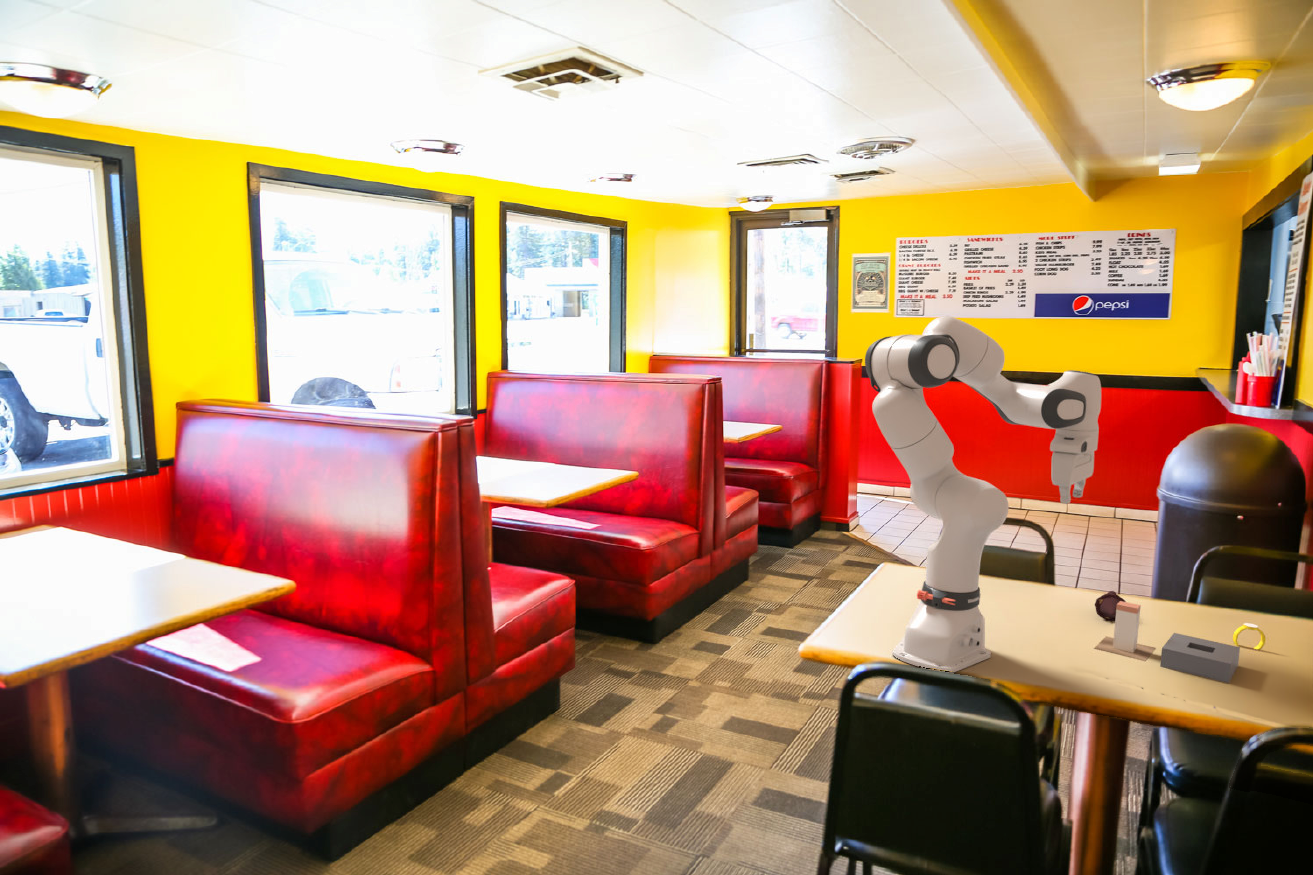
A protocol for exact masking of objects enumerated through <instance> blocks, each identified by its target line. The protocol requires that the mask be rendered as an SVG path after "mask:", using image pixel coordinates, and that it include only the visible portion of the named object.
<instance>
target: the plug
mask: <svg viewBox="0 0 1313 875" xmlns="http://www.w3.org/2000/svg"><path fill="white" fill-rule="evenodd" d="M1140 615H1141V604H1138V603H1132V602H1127V601H1126V602H1123V601H1120V602H1119V603H1118V604H1117V607H1116V619H1115V622H1114V631H1113V638H1114V641H1113V648H1115V649H1119V650H1123V651H1128V652H1132V653H1133V652H1134V651H1135V650H1136V648H1137V644H1138V637H1139V636H1138V635H1139V626H1140V625H1139V624H1140V617H1141V616H1140Z"/></svg>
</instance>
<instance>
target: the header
mask: <svg viewBox="0 0 1313 875" xmlns="http://www.w3.org/2000/svg"><path fill="white" fill-rule="evenodd" d="M1240 650H1241V646H1236V645H1231V644H1227V643H1223V642H1218V641H1214V640H1208V639H1204V638H1200V637H1194V636H1190V635H1187V634H1186V635H1185V634H1183V633H1182V634H1181V633H1177V632H1173V633H1172V634H1171V636H1170V637H1169V639H1167V641H1166V642H1165V644H1164V645H1163V646H1162V648H1161V654H1160V656H1161V657H1160V668H1165V669H1169V670H1173V671H1177V672H1181V673H1184V674H1189V675H1193V676H1198V677H1202V678H1206V679H1209V680H1214V681H1217V682H1221V683H1226V684H1229V683H1230V682H1231V680H1232V678H1233V676H1234V674H1235V672H1236V670H1237V668H1238V666H1239V661H1240V660H1239V658H1240V653H1241V652H1240Z"/></svg>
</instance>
